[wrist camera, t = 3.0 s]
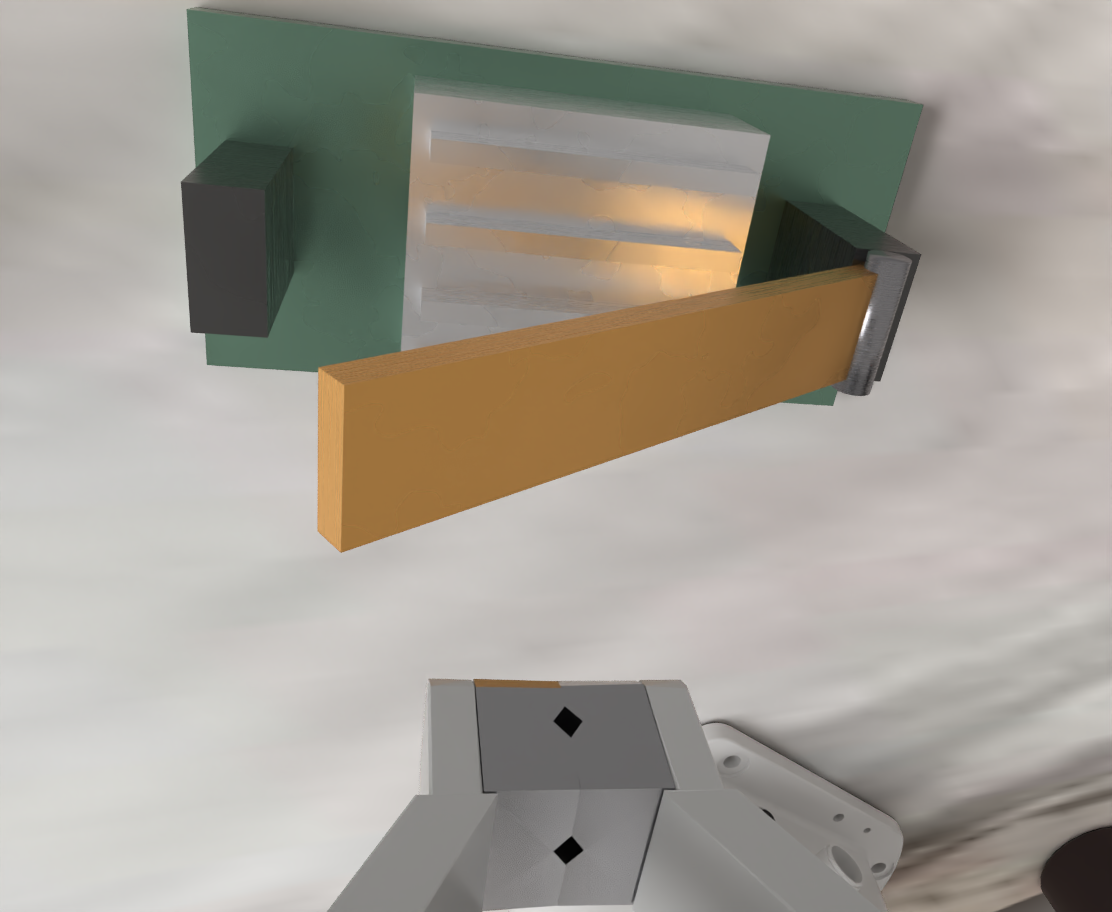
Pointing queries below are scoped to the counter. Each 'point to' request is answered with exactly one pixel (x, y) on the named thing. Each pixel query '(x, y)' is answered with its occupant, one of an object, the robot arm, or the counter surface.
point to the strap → (582, 392)
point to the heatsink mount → (501, 188)
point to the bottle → (1081, 874)
